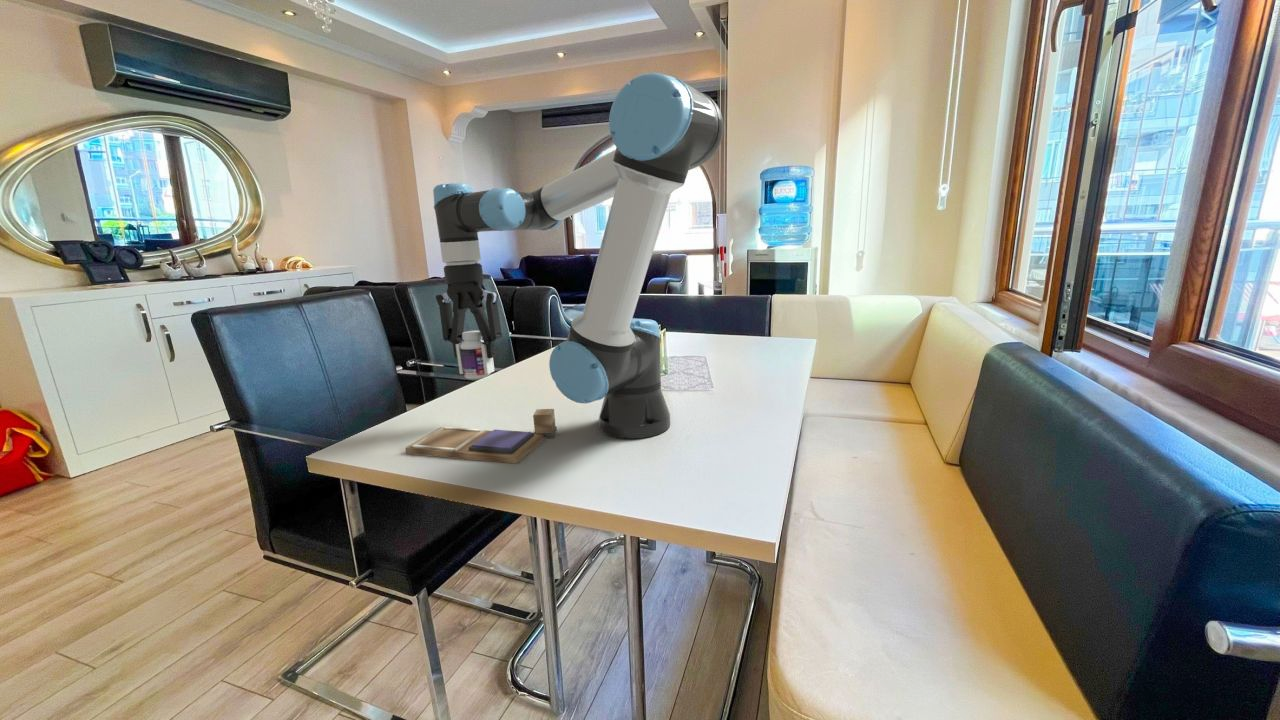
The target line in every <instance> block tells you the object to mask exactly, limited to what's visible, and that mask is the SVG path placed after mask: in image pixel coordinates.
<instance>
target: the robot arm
mask: <svg viewBox="0 0 1280 720" xmlns="http://www.w3.org/2000/svg"><path fill="white" fill-rule="evenodd" d="M608 118H609V119H608V129H609V133H610V134H611V137H612V138H611V139H612V142H613V145H615V147H616V148H615V149H614V150H612V151H609V152H608V153H606V154H604V155H602V156H600V157H598V158H596V159H594V160H592V161H590V162H588V163H586V164H585V165H583V166H580V167H579V168H577V169H574V170H573V171H571V172H569V173H567V174H565V175H563V176H561V177H558V178H557V179H555V180H553V181H551V182H549V183H547V184H546V185H544V186H541V187H540V188H537V189H536V190H534V191H530V192H529V191H528V192H525V191H516V190H514V189H512V188H509V187H508V188H505V187H504V188H500V187H499V188H497V187H495V188H491V189H488V190H480V191H475V192H473V187H472V186H471V185H470V184H468V183H461V182H460V183H459V182H458V183H453V182H451V183H442V184H441V183H440V184H437V185H435V187H434V188H433V190H432V192H433V205H434V206H433V209H434V213H435V218H436V219H435V220H436V225H437V226H436V227H437V233H438V238H439V246H440V253H441V254H440V255H441V261H442V263H444V264H445V266H444V267H443V273H444V280H445V281H444V282H445V283H446V284H447V289H446V292H444V293H441V294H437V295H436V296H435V299H436V302H437V304H438V306H439V307H438V308H439V313H440V315H439V316H440V321H441V322H440V323H441V332H442V339H443V341H445V342H449V343H451V344H452V349H453V355H454V358H455V359H457V364H458V365H457V366H458V370H459V374H460V375H464V369H463V362H462V355H461V344H462V343H463V342H464V340H463V338H462V333H463V332H464V329H465V328H464V327H465V319H466V318H465V317H466V313H467V311H468V310H469V311H470V313H471V314H473V317H474V320H475V322H476V324H477V327H478V331H480V333H481V335H482V338H481V339H482V340H483V341H484V342H482V343H483V344H481V350H482V357H483V365H484V372H485V374H490V375H491V374H492V373H493V372H495V365H494V364H495V363H494V358H495V357H496V347H495V342H496V341H498V340H500V339H502V338H503V334H502V327H501V320H500V314H499V307H498V299H499V293H498V292H497V291H493V292H491V291H488V290H486V288H485V287H486V286H484V272H483V265H482V264H481V263H479V261H481V259H482V258H481V251H480V250H481V249H480V241H479V237H478V236H479V235H478V233H481V232H496V231H497V232H498V231H499V232H502V231H547V230H553V229H556V228H557V227H559V226H560V225H561V223H562V222H563V221H564V220H565V219H567V218H569V217H571V216H574V215H576V214H579V213H580V212H583V211H584V210H587V209H589V208H592V207H595V206H596V205H598V204H601V203H603V202H606V201H608V200H609V199H612V202H611V206H610V210H609V213H608V216H607V222H606V225H605V228H604V233H603V237H602V240H601V243H600V248H599V251H598V255H597V259H596V263H595V266H594V269H593V274H592V279H591V282H590V286H589V290H588V293H587V297H586V300H585V304H584V309H583V312H582V313H581V314H578V315H577V316H575V317H573V319H572V320H571V322H570V326H569V330H568V336H567V338H566V340H564V341H562V342H560V343H559V344H557V345H556V346H555V347H554V348H553V350H552V351H551V353H550V356H549V363H548V365H549V366H548V367H549V372H550V376H551V379H552V380H553V382H554V383H555V386H556V388H557V389H558V391H560V392H561V394H562V395H563V396H564V397H566V398H567V399H569V400H570V401H571V402H575V403H578V404H589V403H593V402H596V401H600V400H602V399H603V401H602V406H601V409H600V412H599V416H598V417H599V418H598V425H599V430H600V431H601V432H602V434H603V433H604V434H605V435H607V436H610V437H614V438H621V439H642V438H649V437H653V436H657V435H659V434H662V433H664V432H666V431H667V430H669V428H670V427H671V413H670V410H669V408H668V405H667V403H666V400H665V396H664V394H663V391H662V381H661V379H662V378H661V376H662V375H661V370H662V369H661V368H662V367H661V335H660V328H659V327H660V326H659V324H658V322H657V321H656V320H653V319H648V318H635V317H634V314H635V311H636V309H637V304H638V302H639V299H640V298H639V297H640V295H641V293H642V288H643V286H644V282H645V279H646V275H647V272H648V269H649V266H650V262H651V260H652V257H653V252H654V250H655V247H656V243H657V240H658V236H659V233H660V230H661V226H662V223H663V221H664V218H665V214H666V210H667V208H668V205H669V202H670V198H671V194H672V193H674V192H675V191H676V190H678V189H680V188H681V187H683V186H684V185H685V183H686V179H687V176H688V173H689V171H691V170H693V169H695V168H698V167H700V166H702V165H704V164H706V163H707V162H709V160H710V159H712V157H713V156H714V155H715V154H716V153H717V151H718V150H719V148H720V145H721V142H722V140H723V136H724V119H723V118H724V117H723V116H722V112H721V109H720V108H719V106H718V104H717V103H716V101H714V100H713V98H711V97H710V96H709V95H708V94H706V93H704V92H703V91H700V90H698V89H696V88H694V87H692V86H690V85H689V84H687V83H686V82H684V81H682V80H681V79H679V78H675V77H674V76H672V75H668V74H663V73H660V72H647V73H643V74H639V75H637V76H636V77H634V78H633V79H632V80H630V81H628V82H627V83H625V85H623V87H621V88H620V90H619V92H618V93H617V94H616V96H615V98H614V100H613V102H612V104H611V108H610V111H609V116H608ZM451 301H452V304H451ZM483 301H484V302H485V305H484V303H483ZM485 309H486V312H485Z"/></svg>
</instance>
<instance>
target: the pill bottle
mask: <svg viewBox="0 0 1280 720" xmlns="http://www.w3.org/2000/svg"><path fill="white" fill-rule="evenodd" d="M462 338H463V340H464V341H462V342H463V343H462V344H461V355H462V362H463V369H464V374H463V376H464V378H465V379H468V380H477V379H484V378H486V377H489V376H490V375H491V373H490V374H485V372H484V365H483V357H482V350H481V344H483V343H482V342H484V341H483V338H482V335H481V333H480V330H469V331H468V330H467V331H463V333H462Z"/></svg>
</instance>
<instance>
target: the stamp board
mask: <svg viewBox="0 0 1280 720" xmlns="http://www.w3.org/2000/svg"><path fill="white" fill-rule="evenodd" d="M534 433H535V432H531V431H521V430H520V431H519V430H509V429H508V430H507V429H493V430H486V429H480V428H465V427H455V426H454V427H453V426H451V427H450V426H440V427H438V428H436V429H434V430H433V431H431V432H430V433H428V434H426V435H425V436H422V437H421V438H419V439H418V440H416V441H414V442H412V443H411V444H409V445H407V446H405V447H404V449H405V453H406V454H409V455H420V456H431V457H443V458H454V459H464V460H473V461H474V460H475V461H484V462H496V463H507V464H516V465H517V464H519V462H521V461H522V460H523V459H524V458H525V457H527V455H528V454H530V452H532V451H534V450H535V449H536V448H537V447H538V446H540V445H541V443H542V442H543V441H544V440H545V438H544V437H543V435H542V434H534Z"/></svg>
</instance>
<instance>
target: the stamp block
mask: <svg viewBox="0 0 1280 720" xmlns="http://www.w3.org/2000/svg"><path fill="white" fill-rule="evenodd" d="M532 417H533V428H534V432H533V433H534V434H542V435H543V437H544V439H554V438H555V436H556V433H557V431H558V428H557V427H558V426H556V416H555V408H540V409H539V408H536V410H535V412H534V413H533V416H532Z"/></svg>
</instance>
